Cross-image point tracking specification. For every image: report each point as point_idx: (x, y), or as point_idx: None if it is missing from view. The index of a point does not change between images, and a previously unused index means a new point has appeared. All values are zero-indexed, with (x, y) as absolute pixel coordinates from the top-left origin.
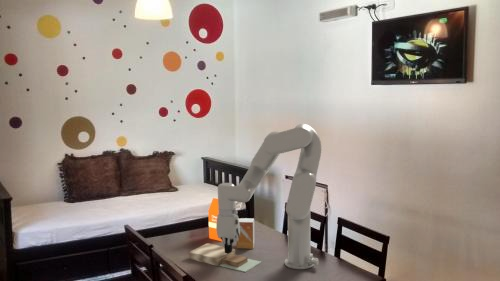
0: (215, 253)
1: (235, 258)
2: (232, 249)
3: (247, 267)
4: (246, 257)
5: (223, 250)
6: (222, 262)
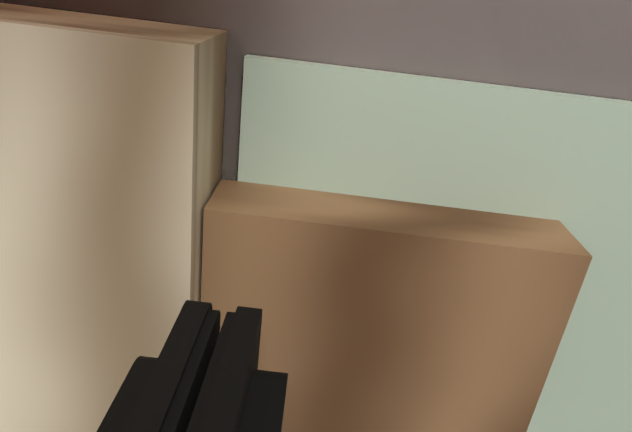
0: (4, 376)
1: (398, 357)
2: (143, 86)
3: (618, 382)
4: (572, 260)
5: (16, 210)
6: None
